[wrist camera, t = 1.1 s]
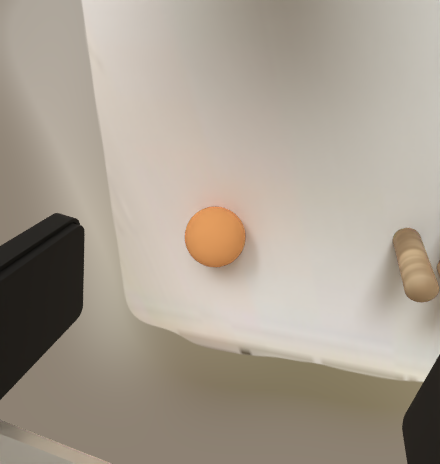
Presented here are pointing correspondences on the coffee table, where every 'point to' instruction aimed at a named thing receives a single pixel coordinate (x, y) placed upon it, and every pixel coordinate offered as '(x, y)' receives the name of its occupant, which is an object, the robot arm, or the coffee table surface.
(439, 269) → the pin
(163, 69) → the coffee table surface
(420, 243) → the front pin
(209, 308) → the coffee table surface
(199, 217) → the ball
